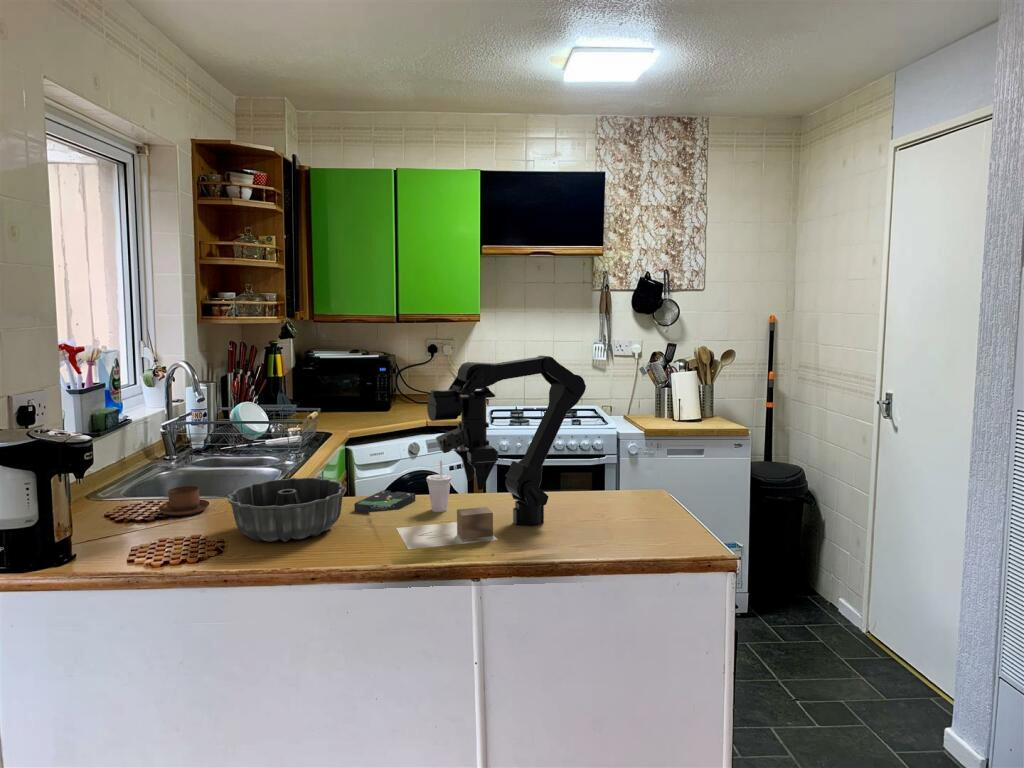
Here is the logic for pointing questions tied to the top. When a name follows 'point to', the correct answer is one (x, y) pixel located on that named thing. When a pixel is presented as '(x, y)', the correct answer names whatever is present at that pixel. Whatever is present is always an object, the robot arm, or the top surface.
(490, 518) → the block
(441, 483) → the smoothie
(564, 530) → the top surface
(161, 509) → the cup and saucer
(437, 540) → the birch board
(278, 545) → the top surface
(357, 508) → the disk drive
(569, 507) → the top surface
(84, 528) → the top surface
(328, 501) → the bundt pan
